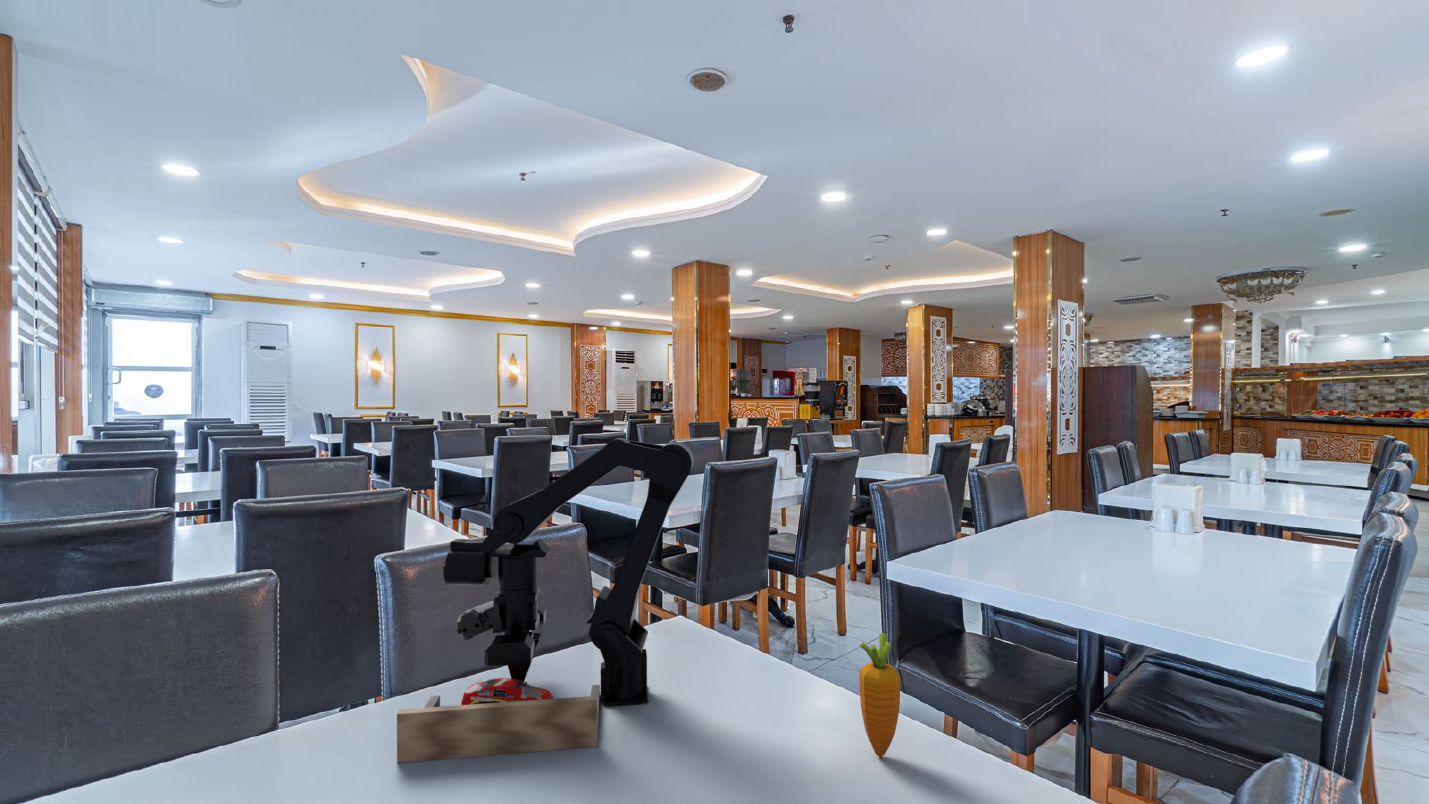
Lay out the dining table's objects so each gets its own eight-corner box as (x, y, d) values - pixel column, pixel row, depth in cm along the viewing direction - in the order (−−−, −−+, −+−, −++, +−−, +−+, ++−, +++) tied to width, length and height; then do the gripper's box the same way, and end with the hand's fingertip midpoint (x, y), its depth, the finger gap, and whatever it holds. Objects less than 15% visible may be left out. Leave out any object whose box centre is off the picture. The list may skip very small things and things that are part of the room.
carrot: (878, 772, 77) (877, 646, 77) (851, 752, 82) (850, 633, 82) (909, 761, 80) (909, 639, 80) (881, 742, 84) (881, 627, 84)
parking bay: (599, 694, 98) (599, 654, 98) (596, 746, 83) (596, 699, 83) (431, 706, 95) (431, 665, 95) (397, 763, 80) (396, 714, 80)
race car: (559, 704, 96) (559, 677, 96) (544, 722, 91) (544, 693, 91) (475, 698, 98) (475, 672, 98) (456, 715, 92) (456, 687, 92)
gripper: (476, 570, 106) (476, 666, 106) (445, 607, 88) (445, 722, 88) (546, 568, 108) (546, 662, 108) (530, 603, 89) (530, 716, 89)
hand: (518, 688), depth 98 cm, fingers closed
